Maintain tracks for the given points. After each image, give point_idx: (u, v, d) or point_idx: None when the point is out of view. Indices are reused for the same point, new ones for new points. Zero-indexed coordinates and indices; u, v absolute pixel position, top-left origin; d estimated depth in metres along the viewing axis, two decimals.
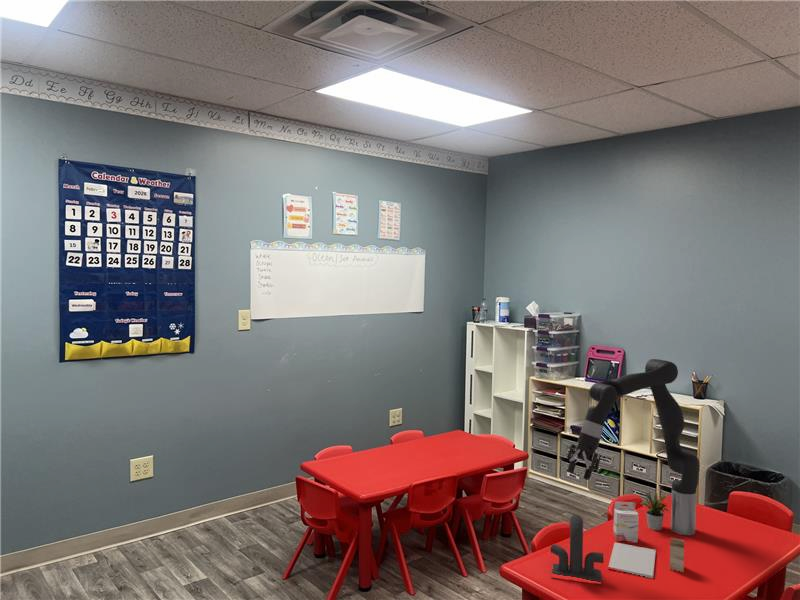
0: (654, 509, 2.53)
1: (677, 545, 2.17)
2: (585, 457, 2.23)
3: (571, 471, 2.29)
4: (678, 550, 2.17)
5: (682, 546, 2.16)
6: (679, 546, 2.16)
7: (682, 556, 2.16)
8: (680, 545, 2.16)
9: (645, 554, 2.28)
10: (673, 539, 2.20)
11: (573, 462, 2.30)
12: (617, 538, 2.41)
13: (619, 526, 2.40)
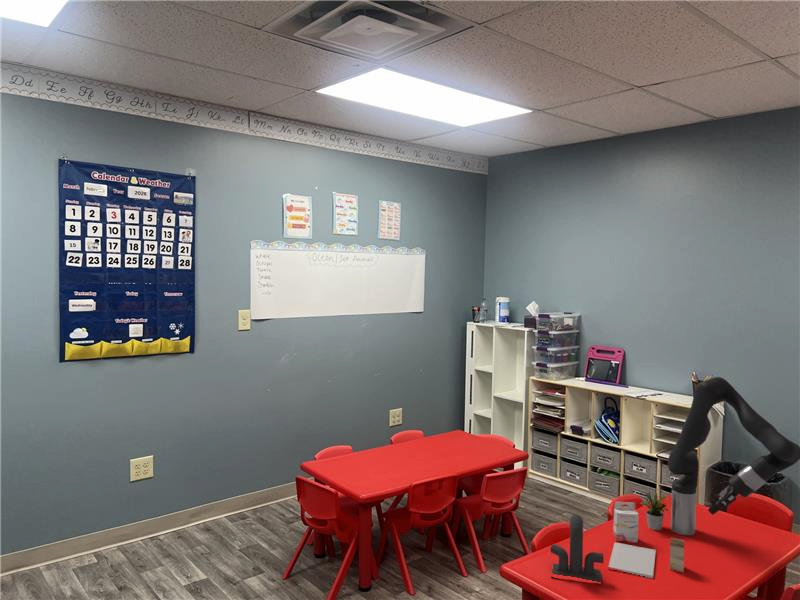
0: (654, 509, 2.53)
1: (677, 545, 2.17)
2: None
3: None
4: (678, 550, 2.17)
5: (682, 546, 2.16)
6: (679, 546, 2.16)
7: (682, 556, 2.16)
8: (680, 545, 2.16)
9: (645, 554, 2.28)
10: (673, 539, 2.20)
11: None
12: (617, 538, 2.41)
13: (619, 526, 2.40)
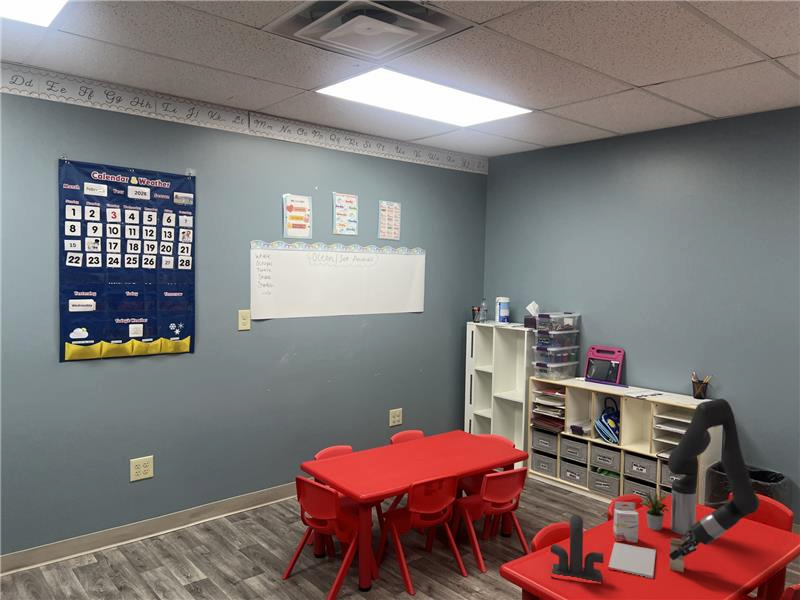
0: (654, 509, 2.53)
1: (677, 545, 2.17)
2: None
3: None
4: None
5: None
6: (679, 546, 2.16)
7: (682, 556, 2.16)
8: (680, 545, 2.16)
9: (645, 554, 2.28)
10: (673, 539, 2.20)
11: None
12: (617, 538, 2.41)
13: (619, 526, 2.40)
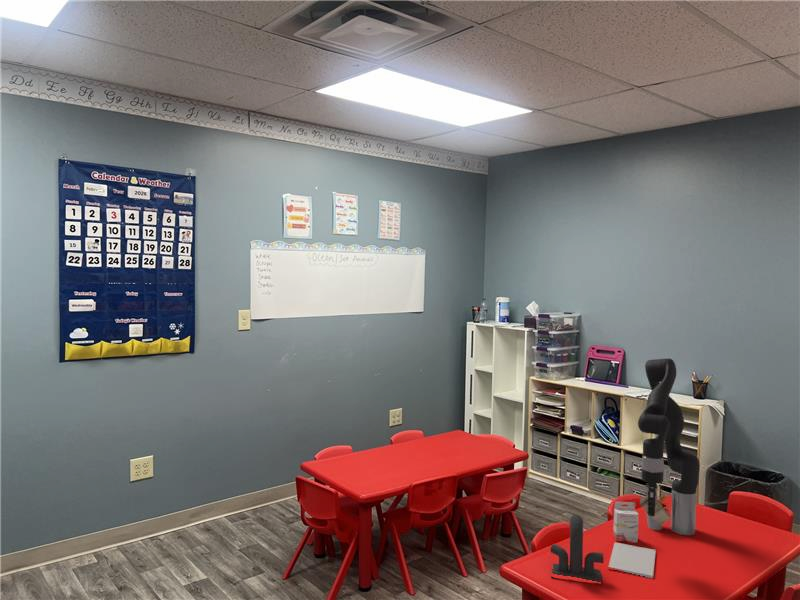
0: None
1: (645, 501, 2.21)
2: None
3: None
4: None
5: None
6: (647, 501, 2.20)
7: (657, 507, 2.19)
8: None
9: (645, 554, 2.28)
10: (642, 499, 2.24)
11: None
12: (617, 538, 2.41)
13: (619, 526, 2.40)
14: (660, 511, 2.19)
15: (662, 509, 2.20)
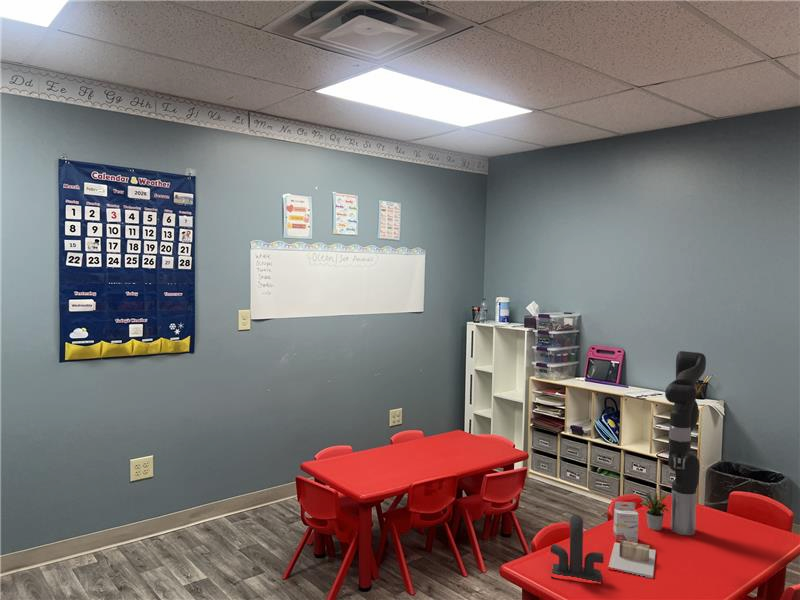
0: (654, 509, 2.53)
1: (621, 550, 2.26)
2: None
3: None
4: (626, 550, 2.25)
5: (621, 546, 2.25)
6: (621, 549, 2.25)
7: (631, 548, 2.24)
8: (621, 547, 2.25)
9: None
10: None
11: None
12: (617, 538, 2.41)
13: (619, 526, 2.40)
14: (636, 549, 2.23)
15: (638, 546, 2.24)
